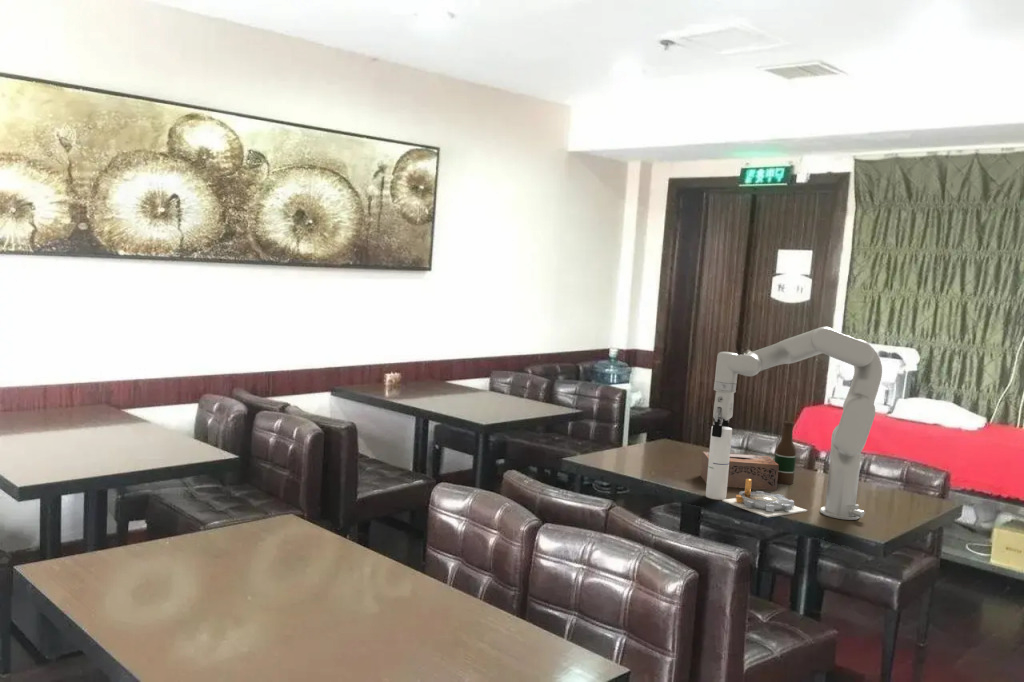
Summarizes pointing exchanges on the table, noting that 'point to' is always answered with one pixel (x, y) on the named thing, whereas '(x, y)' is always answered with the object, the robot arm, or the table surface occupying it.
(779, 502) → the sprocket
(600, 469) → the table surface
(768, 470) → the tissue box cover
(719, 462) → the cylindrical container
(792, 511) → the sprocket base
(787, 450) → the beer bottle
